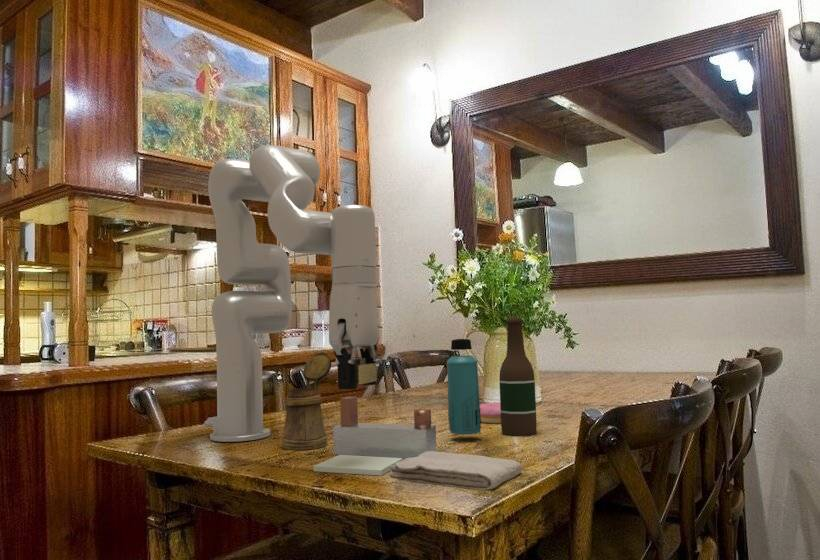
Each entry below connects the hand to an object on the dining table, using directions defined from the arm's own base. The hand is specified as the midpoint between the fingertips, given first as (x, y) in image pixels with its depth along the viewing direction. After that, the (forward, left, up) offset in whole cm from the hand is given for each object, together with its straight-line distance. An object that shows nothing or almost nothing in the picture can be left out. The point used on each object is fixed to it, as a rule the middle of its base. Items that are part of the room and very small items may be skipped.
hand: (357, 385), depth 105 cm
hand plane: (0, +11, -13) cm, 17 cm away
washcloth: (+17, -1, -14) cm, 22 cm away
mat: (0, 0, -13) cm, 13 cm away
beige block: (0, 0, +1) cm, 1 cm away
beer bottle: (+19, +37, -14) cm, 43 cm away
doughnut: (+11, +52, -14) cm, 55 cm away
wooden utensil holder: (-19, +17, -14) cm, 29 cm away
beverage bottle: (+10, +28, -13) cm, 32 cm away
